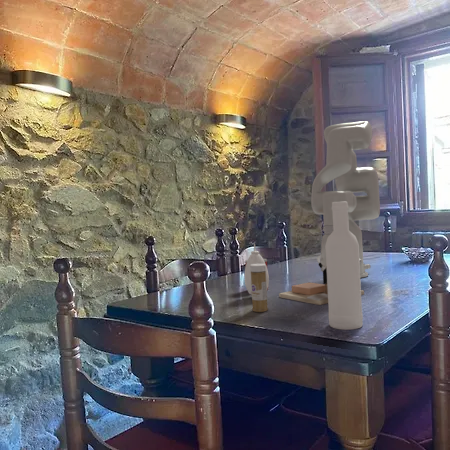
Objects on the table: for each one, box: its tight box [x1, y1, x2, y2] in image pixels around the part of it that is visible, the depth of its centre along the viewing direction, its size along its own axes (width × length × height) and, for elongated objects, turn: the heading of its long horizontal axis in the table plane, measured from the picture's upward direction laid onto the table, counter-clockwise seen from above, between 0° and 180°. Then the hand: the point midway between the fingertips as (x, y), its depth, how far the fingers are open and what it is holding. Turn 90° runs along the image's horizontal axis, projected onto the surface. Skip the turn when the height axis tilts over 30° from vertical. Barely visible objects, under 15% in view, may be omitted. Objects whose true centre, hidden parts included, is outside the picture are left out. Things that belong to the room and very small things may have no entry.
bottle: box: [325, 201, 364, 331], centre depth 109 cm, size 8×8×30 cm
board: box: [278, 289, 365, 306], centre depth 146 cm, size 20×18×1 cm
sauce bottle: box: [244, 242, 270, 296], centre depth 148 cm, size 8×8×18 cm
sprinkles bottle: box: [250, 264, 269, 313], centre depth 130 cm, size 5×5×13 cm
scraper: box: [307, 284, 328, 301], centre depth 139 cm, size 15×5×4 cm, turn 124°
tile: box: [291, 282, 325, 295], centre depth 147 cm, size 2×8×8 cm
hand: (339, 285), depth 142 cm, fingers open, 9 cm apart
